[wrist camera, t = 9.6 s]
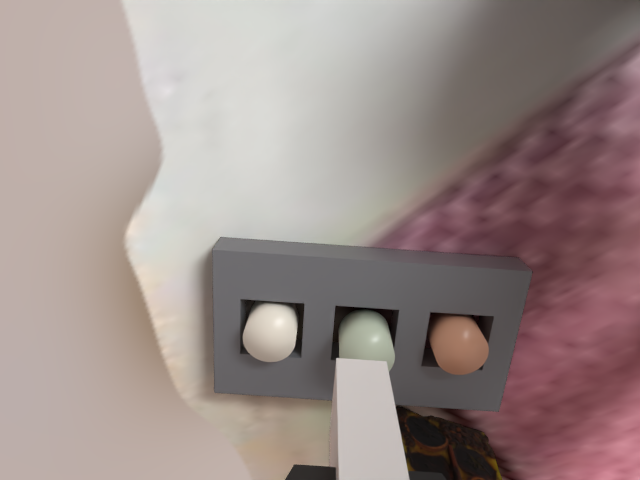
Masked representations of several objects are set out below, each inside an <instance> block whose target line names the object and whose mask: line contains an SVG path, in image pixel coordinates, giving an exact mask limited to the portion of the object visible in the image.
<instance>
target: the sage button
mask: <svg viewBox="0 0 640 480" xmlns="http://www.w3.org/2000/svg"><path fill="white" fill-rule="evenodd" d="M339 358H345V359H360V360H374V361H387V366H388V371H390V370H391V368H392V367H393V364H394V361H395V353H394V348H393V344H392V340H391V335H390V331H389V326H388V323H387V321H386V319H385V318H384V317H383V316H382V315H381V314H379V313H378V312H376V311H373V310H370V309H359V310H355V311H353V312H351V313H349V314H347V315H346V316H345V317H344V318H343V320H342V321H341V323H340V326H339Z"/></svg>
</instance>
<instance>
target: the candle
mask: <svg viewBox="0 0 640 480" xmlns="http://www.w3.org/2000/svg"><path fill="white" fill-rule="evenodd" d="M396 412H397V417H398V423H399V428H400V433H401V438H402V443H403V448H404V454H405V459H406V464H407V469H408V471H419V472H434V473H442V474H443V476H444V477H445V478H446V480H502V477H501V475H500V472H499V469H498V466H497V463H496V459H495V453H494V451H493V449H492V448H491V446H490V445H489V444H488V437H487V436H486V435H485V434H484V432H481V431H478V430H475V429H471V428H467V427H464V426H462V425H461V424H457V423H454V422H450V421H446V420H444V419H442V418H435V417H433V416H428V417H423V416H421V415H419V414H417V413H414V412H412V411H410V410H409V409H405V408H403V407H399V406H396Z"/></svg>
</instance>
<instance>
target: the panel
mask: <svg viewBox="0 0 640 480" xmlns="http://www.w3.org/2000/svg"><path fill="white" fill-rule="evenodd" d="M212 257H213V327H214V393H228V394H242V395H257V396H272V397H287V398H302V399H317V400H331V401H332V399H333V388H334V377H335V366H336V358H339V342H332V339H333V328H334V316H335V306H349V307H363V308H378V309H393V311H392V319H391V326H390V335H391V340H392V344H393V348H394V353H395V361H394V364H393V367H392V368H391V370H390V371H389V376H390V381H391V386H392V392H393V397H394V402H395V405H406V406H420V407H435V408H450V409H465V410H480V411H495V412H499V409H500V405H501V401H502V397H503V393H504V388H505V384H506V380H507V376H508V372H509V368H510V364H511V359H512V355H513V351H514V347H515V343H516V339H517V335H518V331H519V326H520V322H521V318H522V314H523V310H524V306H525V302H526V297H527V293H528V289H529V285H530V281H531V277H532V273H533V271H532V270H531V269H530V268H529V267H528V266H527V265H526V264H525V263H524V262H523V261H522V260H521V259H520V258H517V257H503V256H488V255H473V254H459V253H444V252H430V251H415V250H400V249H386V248H371V247H357V246H342V245H327V244H313V243H298V242H284V241H269V240H254V239H240V238H225V237H220V239H219V240H218V242H217V243H216V245H215V246H214V248H213V249H212ZM246 300H260V301H275V302H290V303H305V304H304V321H303V337H302V340H300V339H296V343H295V347H294V349H293V351H292V353H291V354H290V355H289V356H288V357H286V358H285V359H283V360H280V361H277V362H264V361H261V360H258V359H256V358H254V357H253V356H252V355H250V354H249V353H248V351H247V350H246V348H245V346H244V344H243V332H244V329H245V326H246ZM430 312H437V313H451V314H466V315H480V318H479V323H478V327H479V329H480V331H481V332H482V334H483V336H484V338H485V339H486V341H487V343H488V347H489V353H488V357H487V359H486V361H485V363H484V364H483V365H482V366H481V367H480V368H479V369H477V370H476V371H474V372H472V373H469V374H465V375H455V374H451V373H448V372H446V371H444V370H443V369H442V368H441V367H440V366H439V365H438V363H437V361H436V358H435V356H434V353H433V350H432V348H424V347H425V341H426V335H427V329H428V323H429V317H430Z"/></svg>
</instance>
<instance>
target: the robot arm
mask: <svg viewBox="0 0 640 480" xmlns="http://www.w3.org/2000/svg"><path fill="white" fill-rule="evenodd" d="M285 480H446V478H445V477H444V476H443V474H442V473H434V472H419V471H408V469H407V464H406V459H405V454H404V448H403V443H402V438H401V433H400V428H399V423H398V417H397V412H396V407H395V402H394V397H393V392H392V386H391V381H390V376H389V371H388V366H387V361H374V360H360V359H345V358H336V366H335V377H334V388H333V399H332V410H331V421H330V467H325V466H310V465H295V464H294V466H293V468H292V469H291V471H290V473H289V474H288V476H287V477H286V479H285Z"/></svg>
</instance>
